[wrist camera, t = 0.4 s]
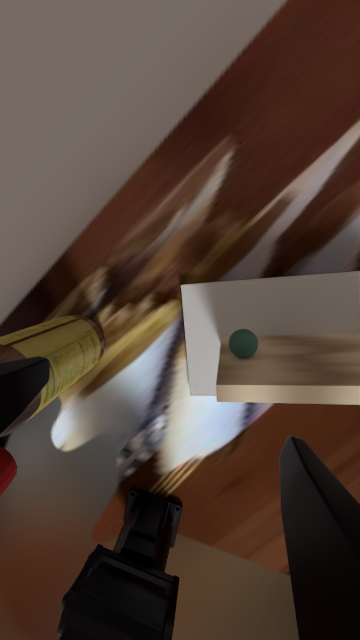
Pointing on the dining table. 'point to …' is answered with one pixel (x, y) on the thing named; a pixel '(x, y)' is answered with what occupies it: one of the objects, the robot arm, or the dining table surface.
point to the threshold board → (263, 314)
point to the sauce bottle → (54, 356)
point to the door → (289, 368)
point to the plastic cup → (6, 469)
